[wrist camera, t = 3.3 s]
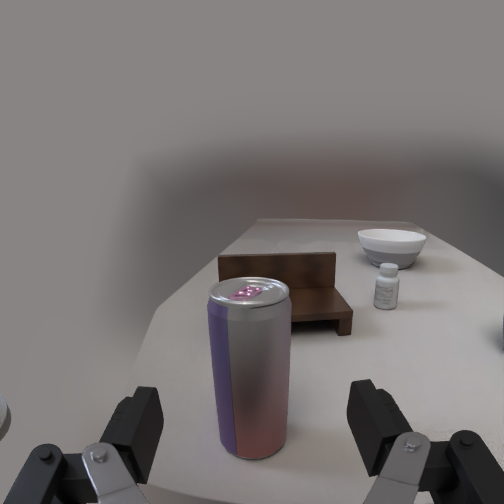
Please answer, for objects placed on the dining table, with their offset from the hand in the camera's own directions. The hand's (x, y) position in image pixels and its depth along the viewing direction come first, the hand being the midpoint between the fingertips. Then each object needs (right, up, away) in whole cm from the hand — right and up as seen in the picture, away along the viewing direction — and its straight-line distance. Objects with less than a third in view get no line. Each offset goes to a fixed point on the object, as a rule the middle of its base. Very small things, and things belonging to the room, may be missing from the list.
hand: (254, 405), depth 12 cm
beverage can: (0, -11, +14) cm, 18 cm away
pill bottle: (+24, -4, +44) cm, 50 cm away
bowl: (+38, +3, +71) cm, 81 cm away
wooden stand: (+5, -5, +39) cm, 40 cm away
